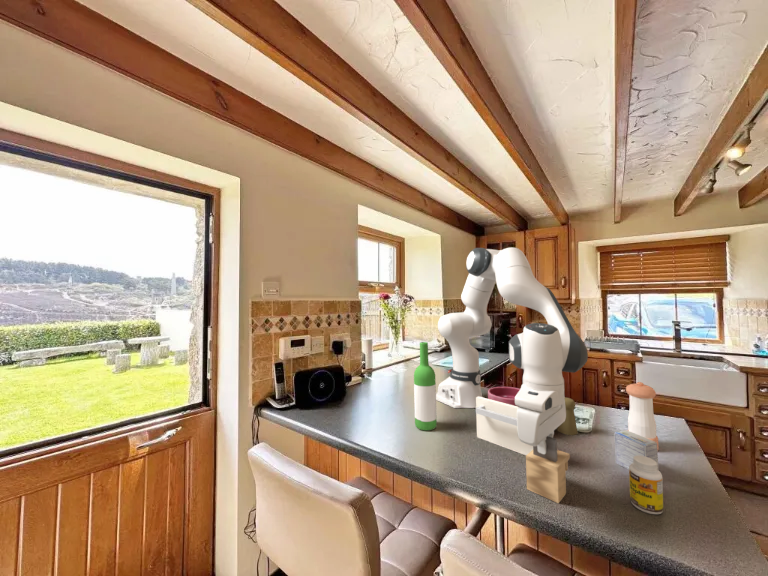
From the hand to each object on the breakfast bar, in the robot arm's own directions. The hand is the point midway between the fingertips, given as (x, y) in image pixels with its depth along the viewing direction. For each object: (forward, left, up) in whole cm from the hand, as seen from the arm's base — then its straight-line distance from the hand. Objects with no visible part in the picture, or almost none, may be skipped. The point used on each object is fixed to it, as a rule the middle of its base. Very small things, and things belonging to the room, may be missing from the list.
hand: (544, 450), depth 73 cm
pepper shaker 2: (+12, +43, -10) cm, 46 cm away
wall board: (-15, +13, -10) cm, 22 cm away
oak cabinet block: (0, +2, -10) cm, 10 cm away
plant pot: (-21, +26, -10) cm, 35 cm away
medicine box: (+13, +26, -10) cm, 31 cm away
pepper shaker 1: (-7, +38, -10) cm, 40 cm away
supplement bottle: (+17, +10, -10) cm, 22 cm away
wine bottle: (-43, +7, -10) cm, 45 cm away
